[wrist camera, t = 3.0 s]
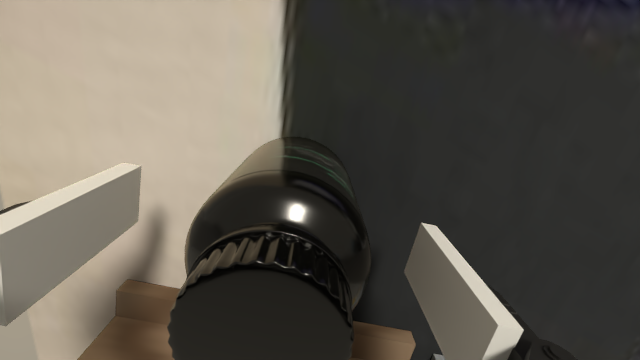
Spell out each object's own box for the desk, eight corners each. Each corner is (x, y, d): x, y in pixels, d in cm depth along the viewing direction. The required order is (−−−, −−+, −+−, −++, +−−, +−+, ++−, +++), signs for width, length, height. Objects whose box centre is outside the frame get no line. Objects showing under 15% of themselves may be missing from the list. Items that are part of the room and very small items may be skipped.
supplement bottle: (304, 258, 21) (285, 472, 9) (217, 197, 20) (74, 358, 8) (373, 182, 19) (452, 327, 8) (284, 110, 18) (224, 157, 7)
